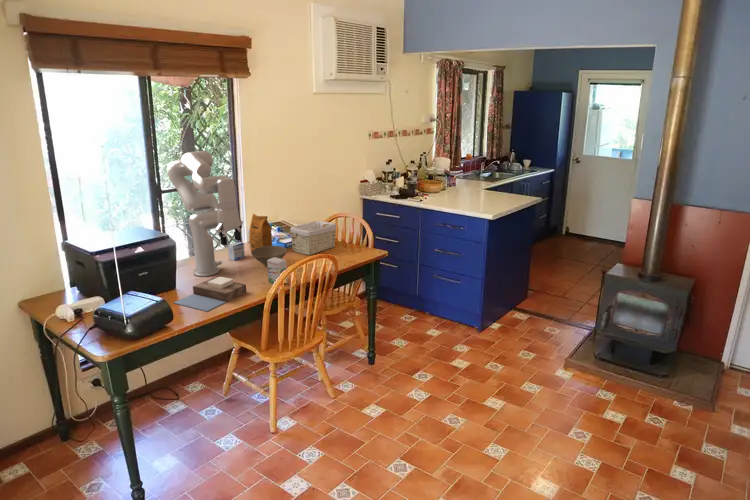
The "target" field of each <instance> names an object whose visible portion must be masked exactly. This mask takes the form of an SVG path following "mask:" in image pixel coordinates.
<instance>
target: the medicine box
mask: <svg viewBox="0 0 750 500" xmlns="http://www.w3.org/2000/svg"><path fill="white" fill-rule="evenodd" d="M244 243H245V242H241V241H237V242H234V243H232V244H227V253H228V260H230V261H235V262H236V261H239V260H242V259H243V258H245V256H246V253H245V246H244V245H245V244H244Z"/></svg>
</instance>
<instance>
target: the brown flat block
mask: <svg viewBox="0 0 750 500" xmlns="http://www.w3.org/2000/svg"><path fill="white" fill-rule="evenodd" d="M216 278H217V277H212V278H209V279H207V280H204V281H202V282H200V283H198V284H197V283H196V284H195V285H193V286H192V292H193V293H192V294H196V295H200V296H204V297H209V298H213V299H217V300H221V301H226V303H228V302H230V301H232V300H234V299H237V298H238V297H240V296H243V295H244V294H247V284H245V283H242V282H235V281H233V282H234V283H233V284H231V285H229V286H227V287H224V288H222V289H219V288H215V287H210V286H208V282H209V281H211V280H213V279H216Z"/></svg>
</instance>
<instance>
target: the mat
mask: <svg viewBox="0 0 750 500" xmlns="http://www.w3.org/2000/svg"><path fill="white" fill-rule="evenodd" d="M225 303H227V302H226V301H221V300H217V299H213V298H209V297H204V296H200V295H196V294H194V293H192V294H190V295H187V296H185V297H183V298H180V299H179V300H176V301H174V302H173V304H175V305H178V306H182V307H187V308H191V309H194V310H199V311H201V312H202V311H203V312H206V313H208V312H210V311H212V310H213V309H216V308H218V307H220V306H222V305H224V304H225Z"/></svg>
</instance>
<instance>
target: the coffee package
mask: <svg viewBox="0 0 750 500" xmlns="http://www.w3.org/2000/svg"><path fill="white" fill-rule="evenodd" d="M268 219H269V218H268V216H267V215H256V214H255V213H253V214H252V217H251V221H250V225H249V245H250V247H249V248H250V253H251V252H252V250H254V249H256V248H259V247H263V246H273V235H272V234H273V233H272V226H271V224H270V222H269V221H268Z"/></svg>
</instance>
